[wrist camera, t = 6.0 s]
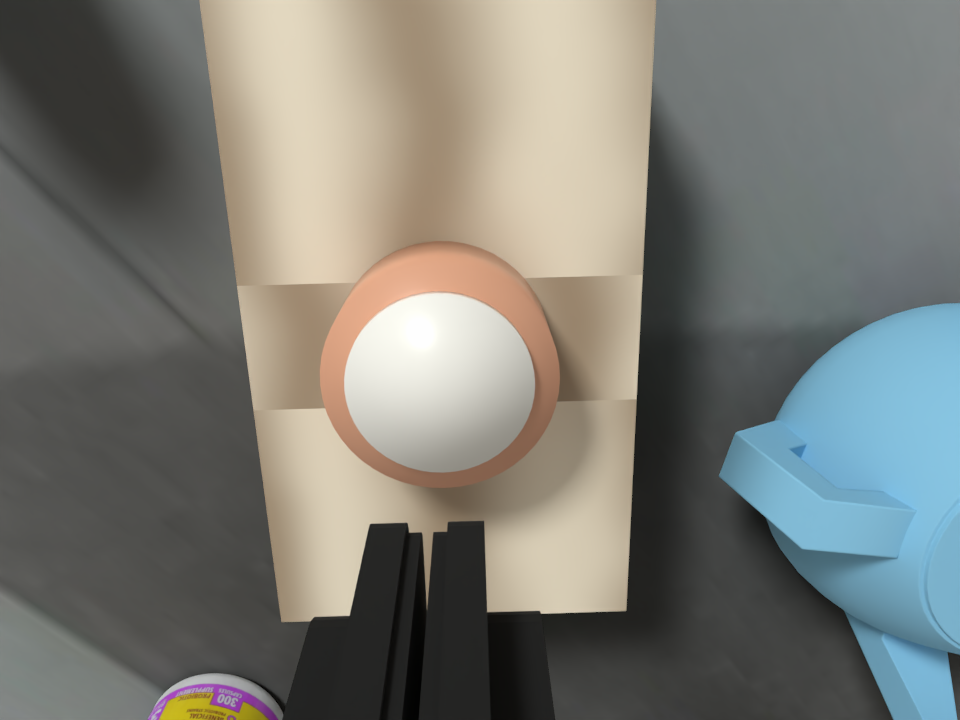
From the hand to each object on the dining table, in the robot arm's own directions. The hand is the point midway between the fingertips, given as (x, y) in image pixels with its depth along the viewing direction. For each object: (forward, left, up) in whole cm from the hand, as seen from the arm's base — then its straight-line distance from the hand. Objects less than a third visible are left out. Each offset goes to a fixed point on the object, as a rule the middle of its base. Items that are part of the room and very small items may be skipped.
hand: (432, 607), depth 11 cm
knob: (0, 0, -20) cm, 20 cm away
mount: (0, 0, -21) cm, 21 cm away
